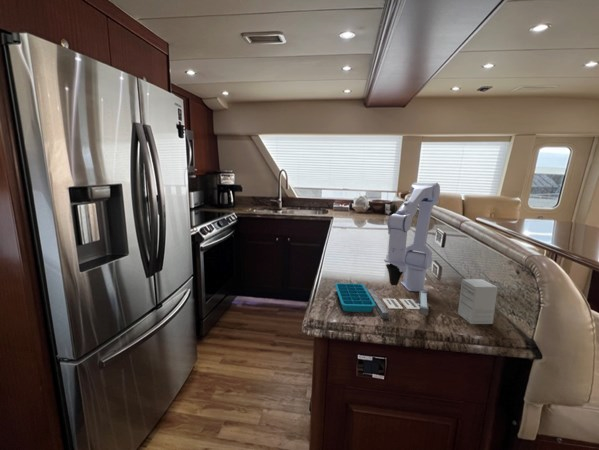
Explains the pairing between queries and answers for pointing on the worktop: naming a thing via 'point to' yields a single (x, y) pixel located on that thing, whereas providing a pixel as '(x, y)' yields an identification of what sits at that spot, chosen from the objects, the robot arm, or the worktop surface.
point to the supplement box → (477, 301)
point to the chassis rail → (379, 304)
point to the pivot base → (419, 304)
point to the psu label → (392, 303)
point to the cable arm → (423, 302)
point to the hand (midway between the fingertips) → (393, 284)
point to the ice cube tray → (354, 297)
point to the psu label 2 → (409, 304)
